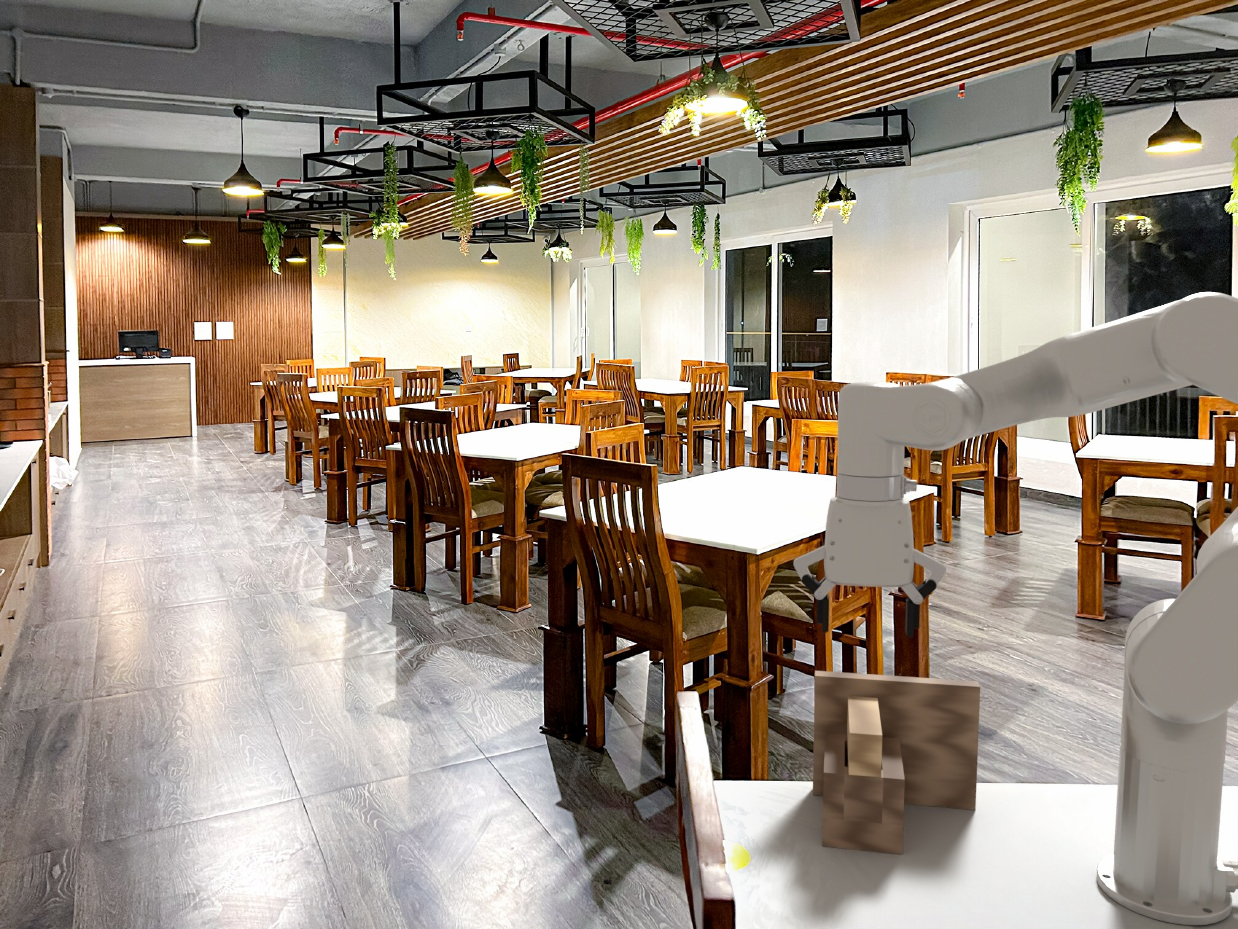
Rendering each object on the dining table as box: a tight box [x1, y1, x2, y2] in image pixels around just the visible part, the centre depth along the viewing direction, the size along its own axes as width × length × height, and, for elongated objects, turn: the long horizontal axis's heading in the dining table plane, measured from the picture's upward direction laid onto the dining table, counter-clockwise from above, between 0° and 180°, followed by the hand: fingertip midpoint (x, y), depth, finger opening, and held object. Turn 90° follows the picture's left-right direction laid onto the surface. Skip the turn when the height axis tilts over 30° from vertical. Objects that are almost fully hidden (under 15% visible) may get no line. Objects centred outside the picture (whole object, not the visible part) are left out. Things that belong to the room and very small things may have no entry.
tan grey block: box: [847, 696, 882, 777], centre depth 118 cm, size 4×12×10 cm, turn 168°
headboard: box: [812, 670, 981, 855], centre depth 119 cm, size 20×15×16 cm
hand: (867, 631), depth 116 cm, fingers open, 9 cm apart
